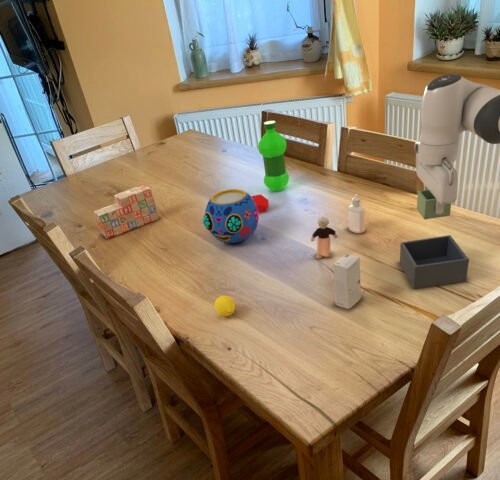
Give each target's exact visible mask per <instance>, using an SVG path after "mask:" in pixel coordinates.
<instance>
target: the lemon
mask: <svg viewBox="0 0 500 480" xmlns="http://www.w3.org/2000/svg"><path fill="white" fill-rule="evenodd" d="M213 306H214V309H215V311H216V313H217V314H218V315H220V316H221V317H230V316H231V315H232V314H234V312H235V311H236V310H235V309H236V303H235V300H234V299H233V298H232V297H231V296H229V295H220V296H217V298H216V299H215V301H214V304H213Z"/></svg>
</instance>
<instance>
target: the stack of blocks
mask: <svg viewBox="0 0 500 480" xmlns="http://www.w3.org/2000/svg"><path fill="white" fill-rule="evenodd" d="M113 197H114V200H115V203H113V204H110V205H107V206H104V207H102V208H99V209H96V210H94V211H93V214H94V217H95V219H96V223H97V226H98V228H99V232H100V233H101V235H102V236H103V237H105V238H106V239H110V238H113V237H115V236H118V235H121V234H124V233H126V232H129V231H131V230H134V229H137V228H139V227H141V226H144V225H147V224H150V223H152V222H154V221H157V220H160V217H159V214H158V210H157V207H156V203H155V199H154V196H153V193H152V189H151V188H150V187H149V186H147V185H145V184H141V185H138V186H135V187H132V188H129V189H126V190H124V191H121V192H118V193H116V194H114V195H113ZM153 218H154V219H153ZM145 221H146V222H145ZM142 222H143V223H142ZM140 223H141V224H140ZM137 224H138V225H137ZM134 225H135V226H134ZM132 226H133V227H132ZM127 228H128V229H127ZM122 230H123V231H122ZM117 232H118V233H117ZM114 233H115V234H114ZM111 234H112V235H111ZM109 235H110V236H109ZM106 236H107V237H106Z"/></svg>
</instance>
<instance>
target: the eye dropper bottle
mask: <svg viewBox="0 0 500 480" xmlns="http://www.w3.org/2000/svg"><path fill="white" fill-rule="evenodd" d="M347 218H348V219H347V221H348V223H347V225H348V230H349V231H350V232H352V233H355V234H362V233H364V232H366V211H365V208H364V207H363V206H362V205H361V197H359V196H358V194H357V193H355V194H354V197H352V199H351V205H349V206H348V207H347Z"/></svg>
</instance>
